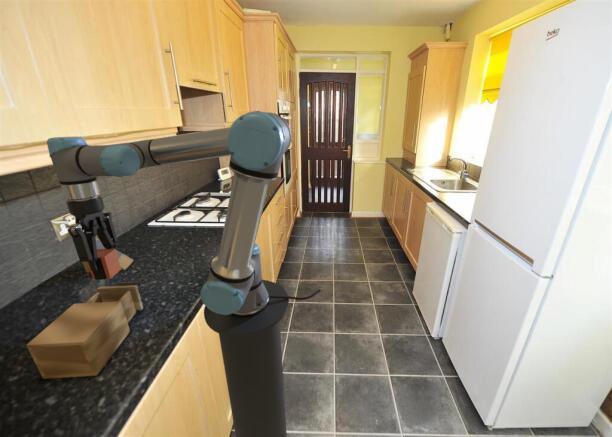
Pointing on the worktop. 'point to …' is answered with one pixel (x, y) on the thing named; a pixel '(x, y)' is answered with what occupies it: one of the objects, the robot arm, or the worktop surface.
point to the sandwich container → (122, 258)
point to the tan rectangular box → (80, 340)
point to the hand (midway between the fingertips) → (107, 273)
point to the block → (108, 262)
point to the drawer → (120, 297)
